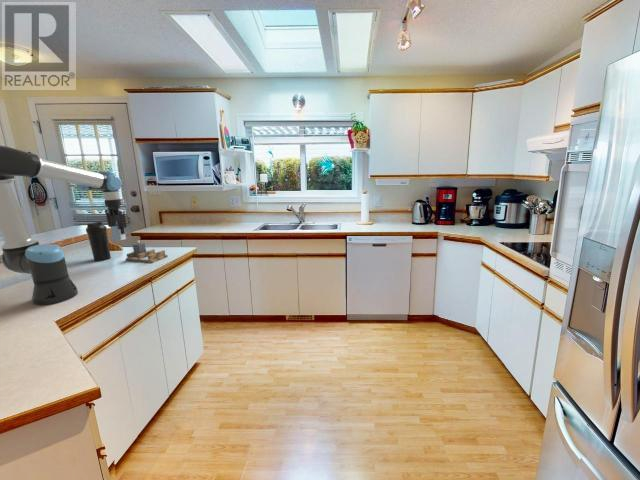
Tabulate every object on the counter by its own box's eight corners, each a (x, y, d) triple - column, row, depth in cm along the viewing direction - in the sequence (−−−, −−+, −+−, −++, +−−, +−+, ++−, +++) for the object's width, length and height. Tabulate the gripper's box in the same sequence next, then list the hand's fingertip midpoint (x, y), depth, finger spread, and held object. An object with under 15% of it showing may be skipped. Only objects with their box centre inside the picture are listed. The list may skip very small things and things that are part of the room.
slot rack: (152, 262, 176) (151, 256, 175) (125, 260, 182) (124, 253, 181) (167, 256, 188) (166, 250, 187) (141, 254, 193) (140, 248, 192)
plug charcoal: (134, 257, 183) (132, 241, 181) (140, 255, 187) (138, 239, 185) (140, 257, 182) (138, 241, 180) (146, 255, 186) (144, 240, 184)
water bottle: (116, 256, 189) (109, 221, 184) (103, 261, 180) (95, 224, 174) (101, 256, 190) (94, 221, 185) (88, 261, 181) (80, 224, 175)
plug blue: (119, 241, 170) (115, 223, 168) (113, 240, 172) (110, 223, 169) (126, 239, 174) (123, 222, 172) (121, 238, 176) (117, 222, 173)
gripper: (129, 198, 167) (136, 238, 173) (108, 197, 173) (115, 236, 179) (116, 200, 160) (124, 242, 166) (94, 199, 167) (103, 239, 173)
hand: (119, 239), depth 173 cm, fingers closed on plug blue, 4 cm apart
